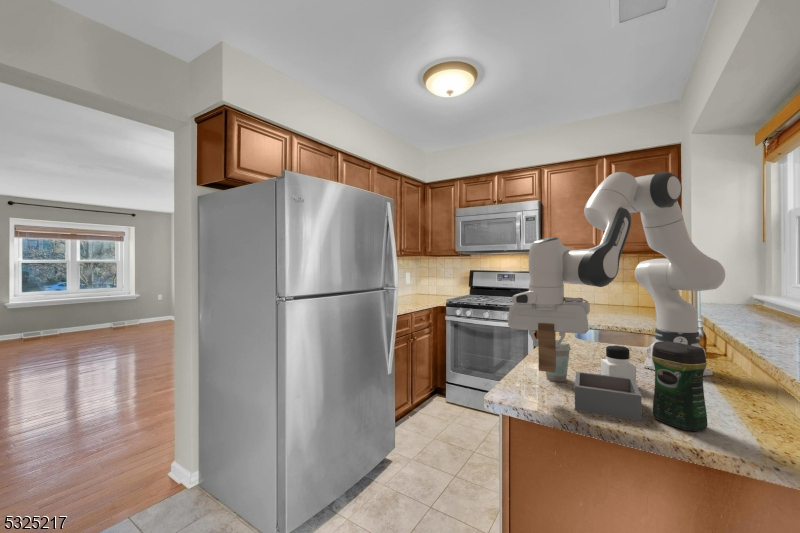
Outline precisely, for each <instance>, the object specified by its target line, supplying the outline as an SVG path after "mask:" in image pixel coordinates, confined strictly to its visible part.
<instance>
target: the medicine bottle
mask: <svg viewBox="0 0 800 533" xmlns="http://www.w3.org/2000/svg"><path fill="white" fill-rule="evenodd" d="M605 356H606V357H605V358H601V359H600V374H601V375H609V376H617V377H625V378H633V379H635V382H636V383H637V379H636V378H637V377H636V375H637V368H636V367H637V366H636V365H634V364H633V363H631V362H630V349H629V347H626V346H624V345H617V344H611V345H607V346H606V347H605Z"/></svg>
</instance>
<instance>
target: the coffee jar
mask: <svg viewBox="0 0 800 533" xmlns="http://www.w3.org/2000/svg"><path fill="white" fill-rule="evenodd" d="M701 347H702V346H701ZM701 347H696V346H691V345H686V344H682V343H676V342H669V341H664V342H656V343H655V344H654V346H653V352H652V360H653V363H654V366H655V370H654V388H653V389H654V390H653V391H654V392H653V399H652V400H653V401H652V416H653V417H654V418H655V420H658V421H660V422H662V423H664V424H667V425H669V426H672V427H674V428H678V429H681V430H684V431H695V432H701V431H703V430H705V429H706V428H708V415H707V414H708V413H707V408H706V407H707V406H706V400H705V398H706V397H705V390H704V376H703V373H704V370H705V368H706V369H707V363H708V362H707V358H706V357H707V356H706V357H705V355H706V351H705V352H704V350H703V349H704V347H702V348H701Z"/></svg>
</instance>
